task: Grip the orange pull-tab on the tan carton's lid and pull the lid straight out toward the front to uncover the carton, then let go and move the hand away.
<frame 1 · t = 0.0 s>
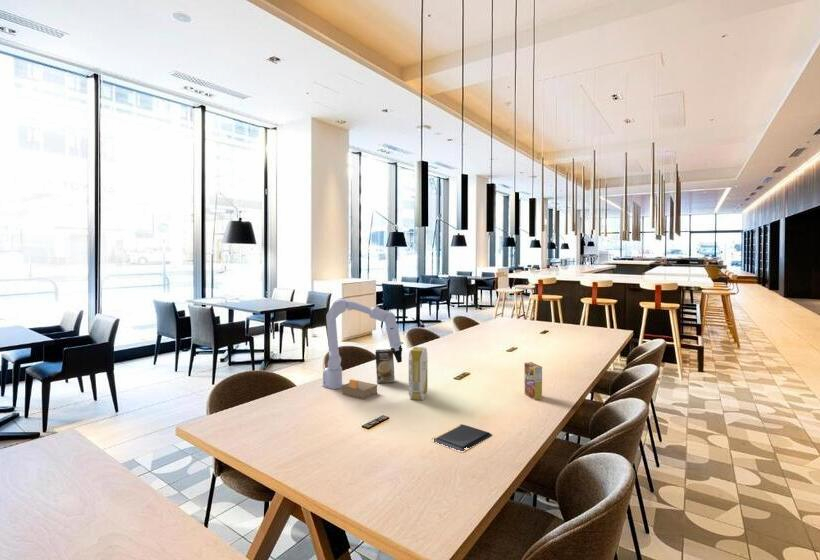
hand: (399, 361, 224), 12 cm above the table, tool pointing down, fingers open, 3 cm apart
candy box: (532, 397, 205), on the table
carton: (359, 393, 210), on the table
juice carton: (418, 397, 205), on the table
coffee box: (386, 381, 229), on the table, touching gripper
lid: (359, 382, 210), point 6 cm above the table, slide at 0.0 cm
wallet: (461, 439, 161), on the table
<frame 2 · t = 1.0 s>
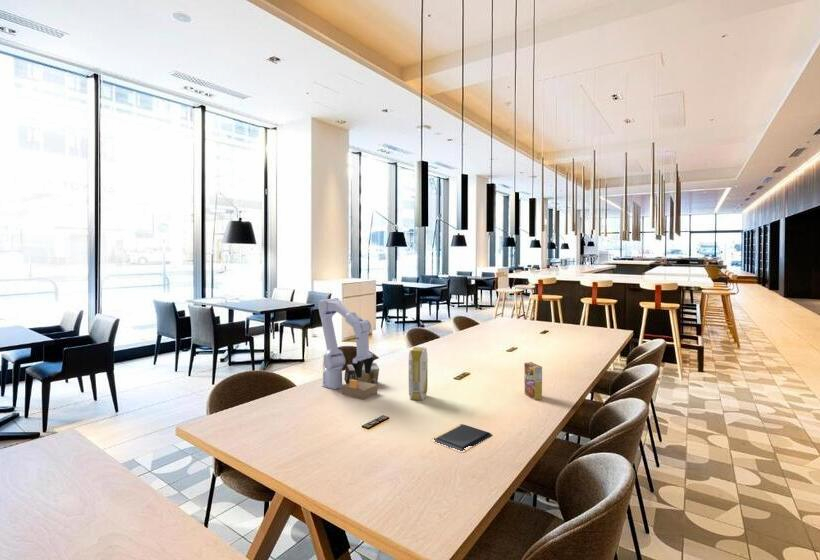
hand: (363, 375, 207), 10 cm above the table, tool pointing down, fingers open, 7 cm apart
coffee box: (377, 372, 227), point 5 cm above the table, touching arm
everything else where it was.
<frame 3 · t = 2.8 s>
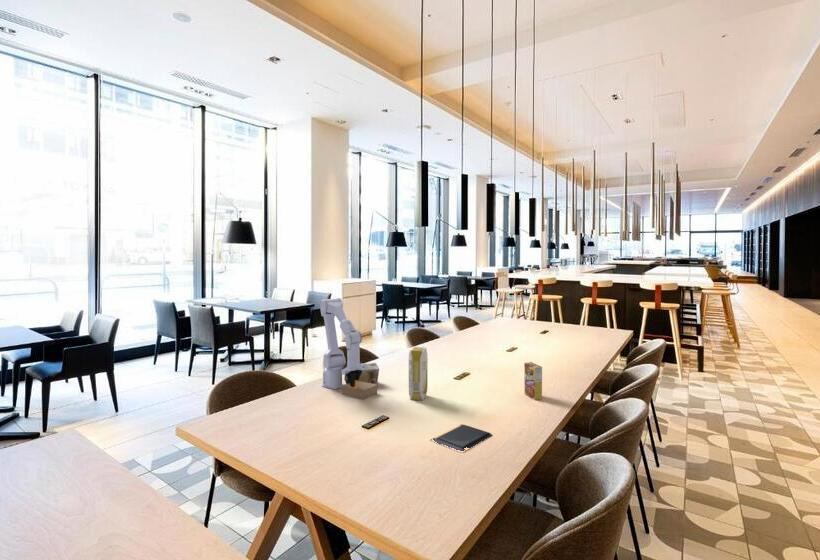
hand: (353, 386, 207), 5 cm above the table, tool pointing down, fingers closed on lid
lid: (359, 382, 210), point 6 cm above the table, slide at 0.0 cm, touching gripper
everything else where it was.
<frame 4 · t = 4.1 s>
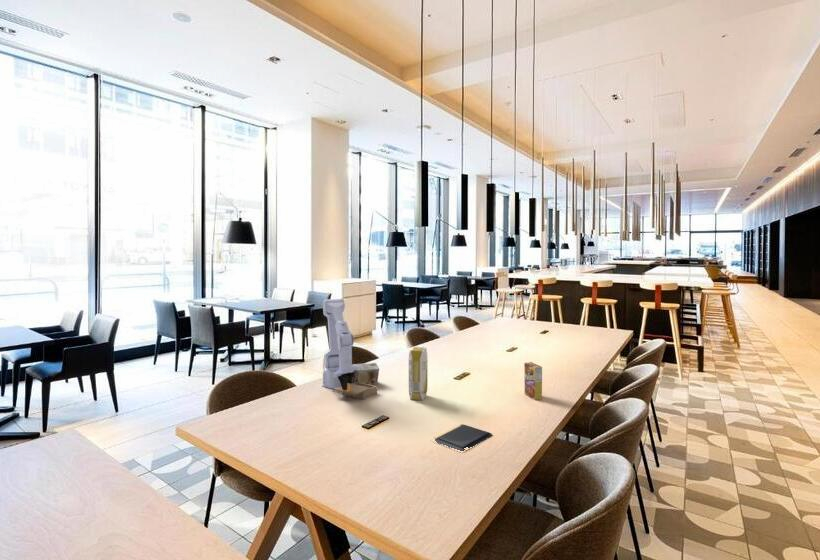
hand: (345, 389, 202), 5 cm above the table, tool pointing down, fingers closed on lid
lid: (352, 385, 205), point 6 cm above the table, slide at 5.4 cm, touching gripper
everything else where it was.
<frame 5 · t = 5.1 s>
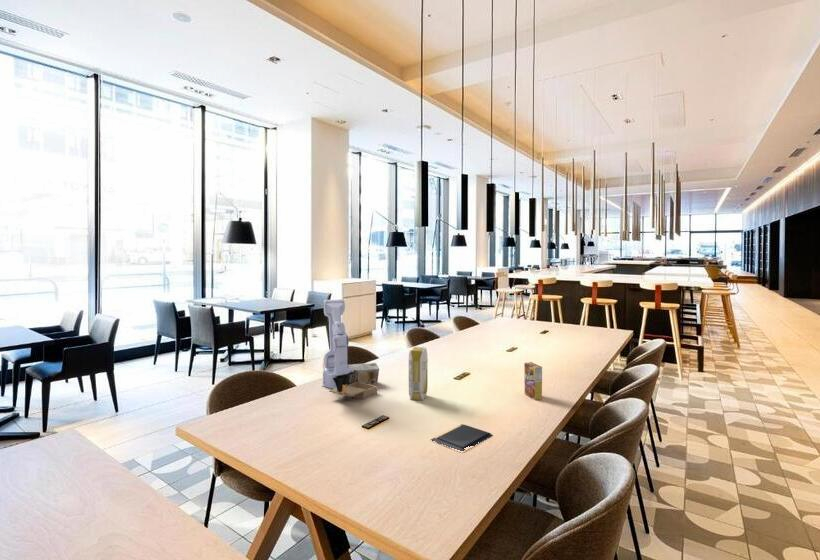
hand: (341, 391, 200), 5 cm above the table, tool pointing down, fingers closed on lid
lid: (347, 386, 203), point 6 cm above the table, slide at 8.5 cm, touching gripper
everything else where it was.
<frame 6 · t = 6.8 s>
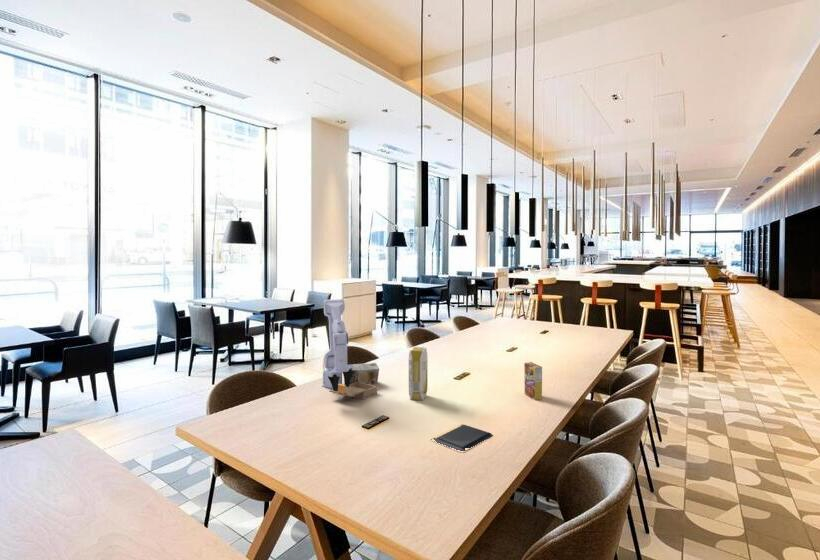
hand: (341, 388, 199), 6 cm above the table, tool pointing down, fingers open, 7 cm apart
lid: (347, 386, 203), point 6 cm above the table, slide at 8.5 cm
everything else where it was.
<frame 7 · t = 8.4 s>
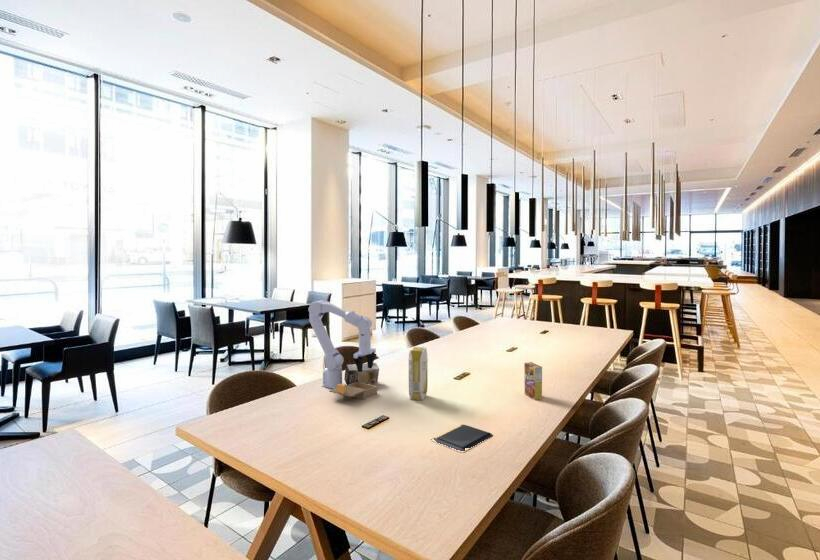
hand: (365, 369, 218), 9 cm above the table, tool pointing down, fingers open, 7 cm apart
nothing on the table moved.
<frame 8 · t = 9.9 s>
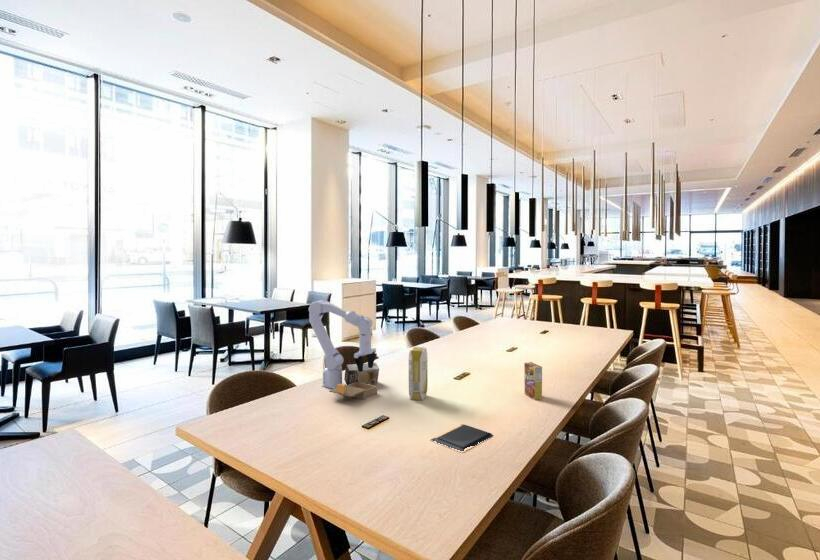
hand: (365, 369, 218), 9 cm above the table, tool pointing down, fingers open, 7 cm apart
nothing on the table moved.
at the end: lid slide at 8.5 cm; the gripper is holding nothing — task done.
